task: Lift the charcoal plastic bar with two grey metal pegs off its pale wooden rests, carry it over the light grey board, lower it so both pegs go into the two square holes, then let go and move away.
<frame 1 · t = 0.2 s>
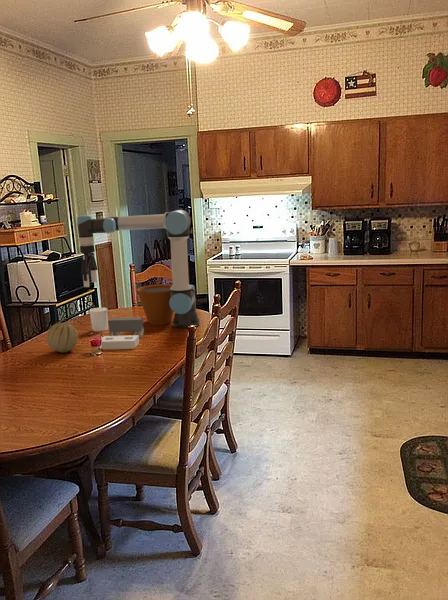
hand: (90, 284, 285), 28 cm above the table, tool pointing down, fingers open, 13 cm apart
flower pot: (159, 321, 312), on the table
white cylinder: (100, 330, 298), on the table
hole board: (119, 346, 266), on the table
peg strip: (126, 336, 281), touching wooden rests
wooden rests: (127, 337, 282), on the table
cantaloupe: (63, 352, 261), on the table
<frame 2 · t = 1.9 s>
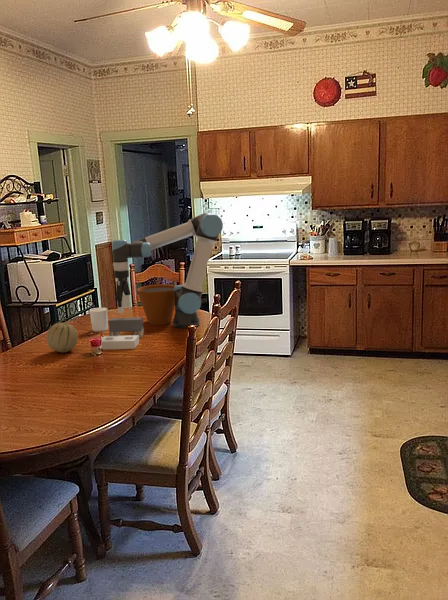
hand: (124, 310, 278), 15 cm above the table, tool pointing down, fingers open, 13 cm apart
nothing on the table moved.
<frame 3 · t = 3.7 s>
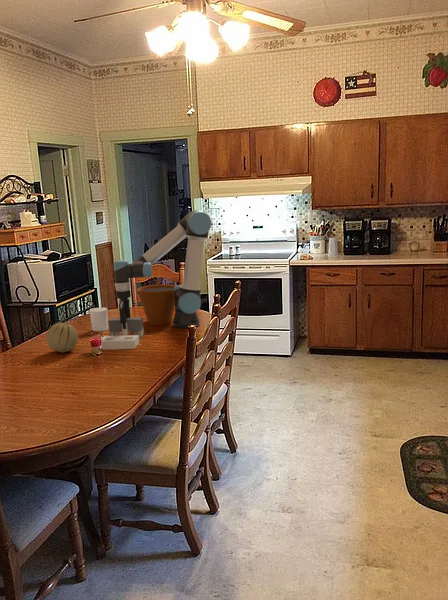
hand: (126, 333, 281), 2 cm above the table, tool pointing down, fingers closed on peg strip, 5 cm apart
peg strip: (126, 336, 281), point 1 cm above the table, touching gripper, wooden rests
everything else where it was.
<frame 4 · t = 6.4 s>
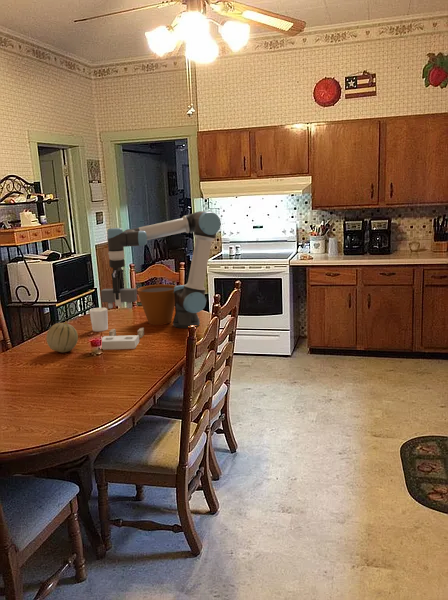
hand: (119, 304, 272), 19 cm above the table, tool pointing down, fingers closed on peg strip, 5 cm apart
peg strip: (120, 307, 272), point 18 cm above the table, touching gripper
everything else where it was.
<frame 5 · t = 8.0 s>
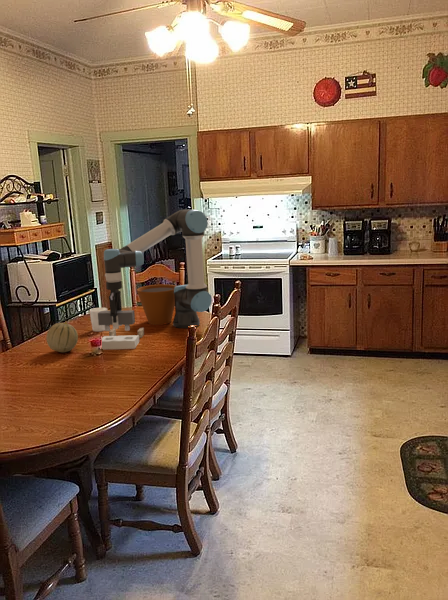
hand: (117, 327, 264), 10 cm above the table, tool pointing down, fingers closed on peg strip, 5 cm apart
peg strip: (117, 330, 264), point 8 cm above the table, touching gripper
everything else where it was.
when the fingers open (5 cm above the table, at t = 9.4 s): peg strip drops 3 cm, resting on hole board.
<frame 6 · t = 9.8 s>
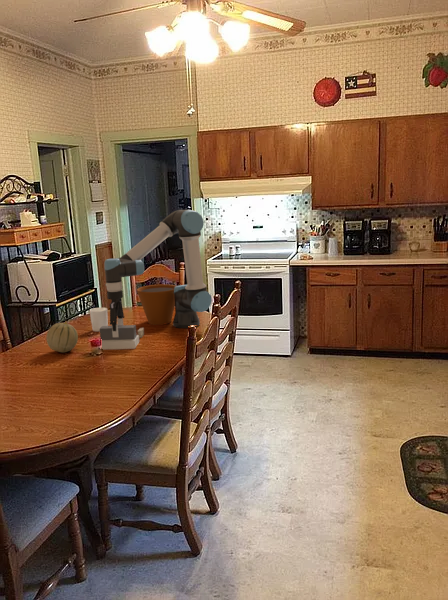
hand: (118, 334, 265), 6 cm above the table, tool pointing down, fingers open, 10 cm apart
peg strip: (119, 345, 266), resting on hole board
everything else where it was.
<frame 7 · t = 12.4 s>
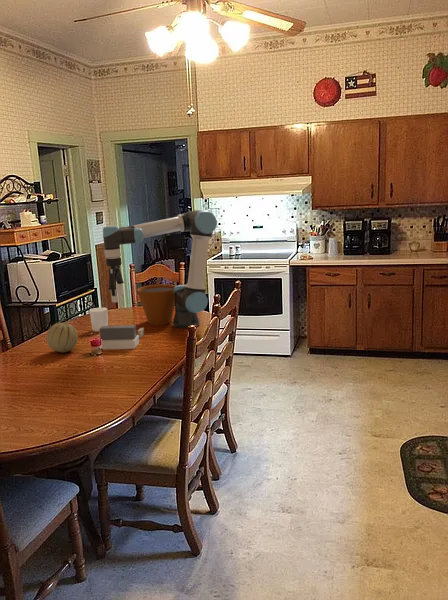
hand: (117, 299, 268), 22 cm above the table, tool pointing down, fingers open, 13 cm apart
nothing on the table moved.
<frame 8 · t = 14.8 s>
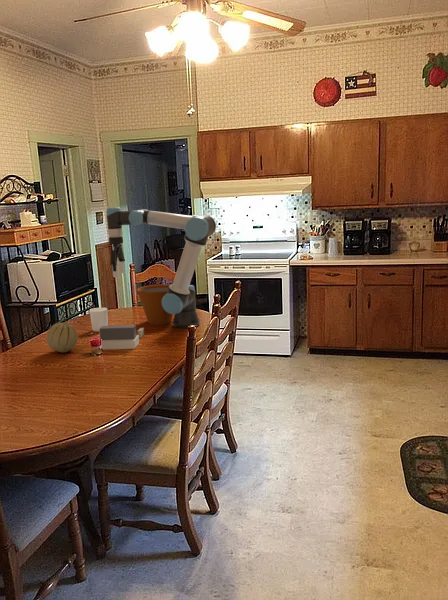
hand: (118, 275, 292), 31 cm above the table, tool pointing down, fingers open, 13 cm apart
nothing on the table moved.
at the end: peg strip 0.0 cm off-centre on the hole board, point 0.5 cm above the hole board's base; peg strip tilted 0°; the gripper is holding nothing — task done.
